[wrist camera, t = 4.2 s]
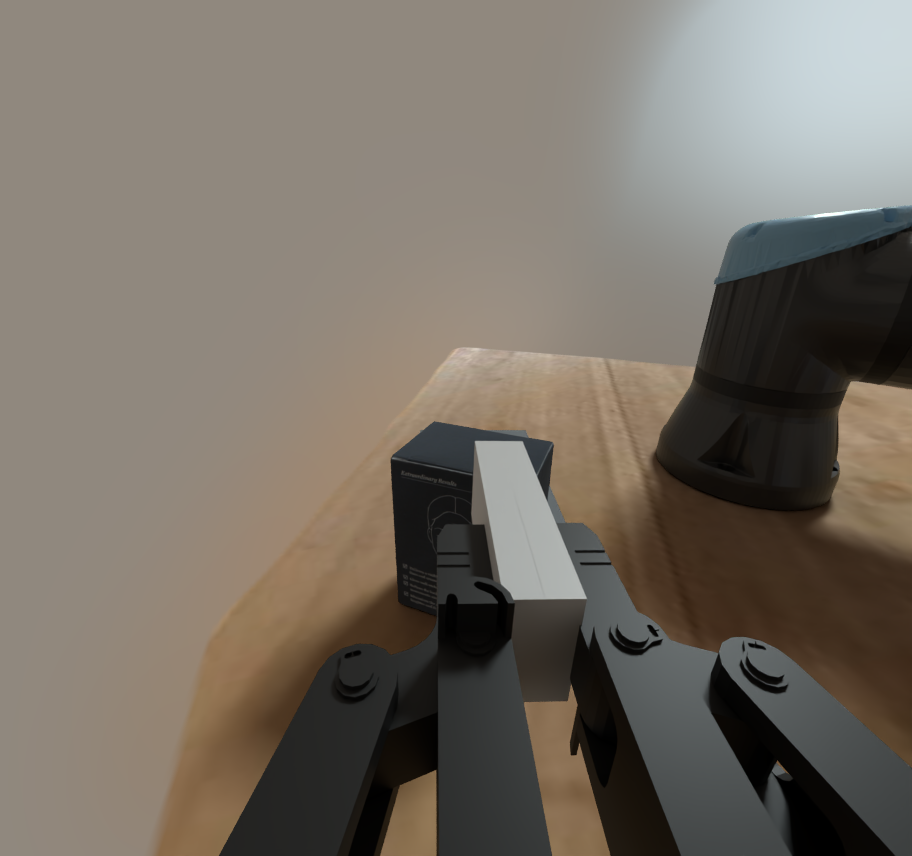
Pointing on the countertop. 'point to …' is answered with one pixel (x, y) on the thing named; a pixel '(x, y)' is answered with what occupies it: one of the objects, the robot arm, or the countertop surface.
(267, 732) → the countertop surface
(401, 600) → the box
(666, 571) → the countertop surface
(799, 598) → the countertop surface
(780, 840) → the robot arm
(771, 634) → the countertop surface
